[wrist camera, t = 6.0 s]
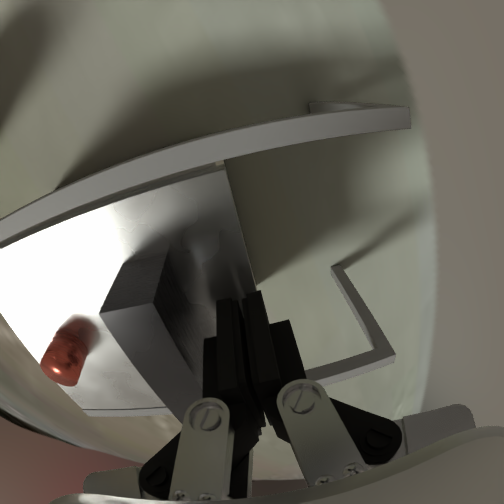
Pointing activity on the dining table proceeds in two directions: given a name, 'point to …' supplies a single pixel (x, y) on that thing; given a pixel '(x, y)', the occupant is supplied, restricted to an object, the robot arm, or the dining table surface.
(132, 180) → the white box with rails
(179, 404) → the lid
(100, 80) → the dining table surface
